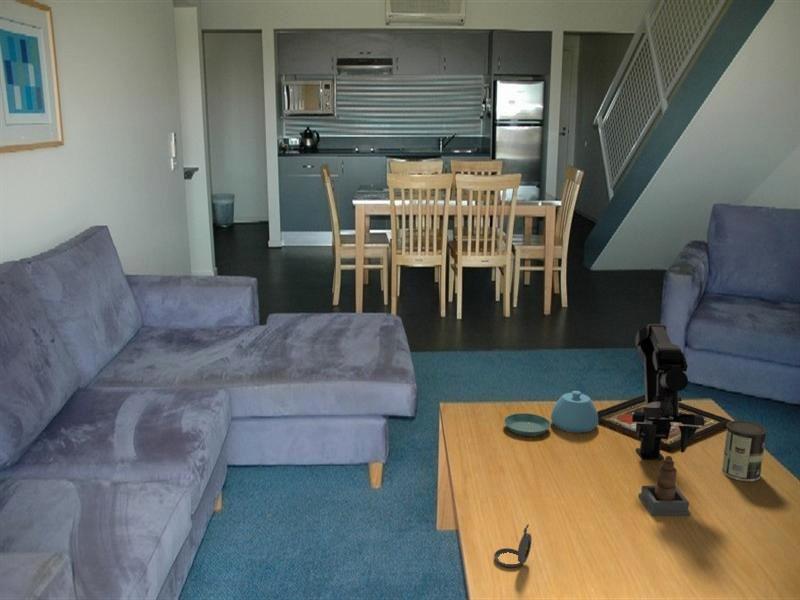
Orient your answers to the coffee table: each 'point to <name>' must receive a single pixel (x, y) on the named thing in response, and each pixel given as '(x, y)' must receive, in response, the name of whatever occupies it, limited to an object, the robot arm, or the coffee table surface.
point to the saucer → (527, 424)
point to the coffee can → (744, 450)
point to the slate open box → (664, 503)
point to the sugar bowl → (575, 413)
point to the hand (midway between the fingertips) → (666, 451)
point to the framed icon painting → (622, 422)
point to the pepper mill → (666, 481)
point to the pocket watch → (522, 550)
